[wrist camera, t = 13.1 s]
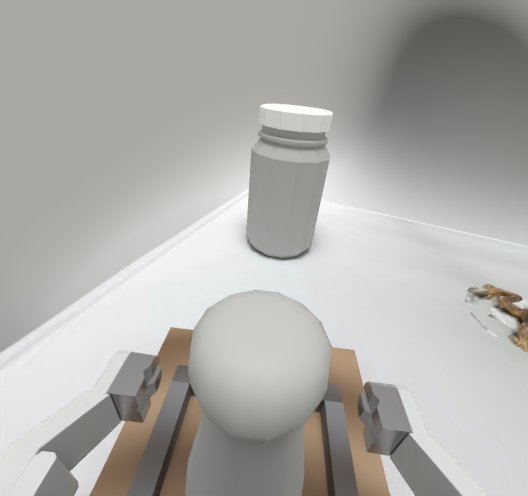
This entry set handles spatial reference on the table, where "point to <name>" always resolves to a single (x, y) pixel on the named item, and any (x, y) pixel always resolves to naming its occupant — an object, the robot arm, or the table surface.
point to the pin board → (189, 416)
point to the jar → (287, 178)
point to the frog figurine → (503, 311)
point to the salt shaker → (254, 394)
